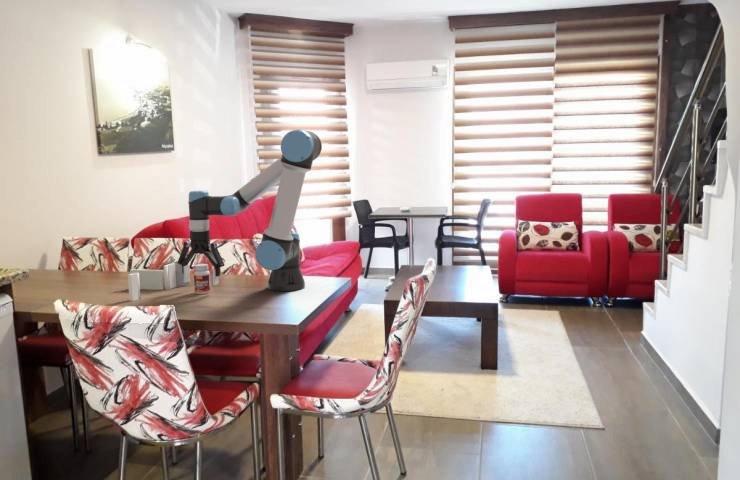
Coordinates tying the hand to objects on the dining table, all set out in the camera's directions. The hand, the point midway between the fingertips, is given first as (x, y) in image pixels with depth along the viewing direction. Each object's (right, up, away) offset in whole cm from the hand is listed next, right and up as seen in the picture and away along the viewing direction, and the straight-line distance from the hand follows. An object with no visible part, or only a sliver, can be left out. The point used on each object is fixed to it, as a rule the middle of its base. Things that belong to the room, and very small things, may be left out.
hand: (201, 283), depth 229 cm
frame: (-19, -4, 0) cm, 19 cm away
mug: (-15, -2, +17) cm, 23 cm away
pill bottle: (0, -4, 0) cm, 4 cm away
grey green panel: (-25, -3, +8) cm, 26 cm away
